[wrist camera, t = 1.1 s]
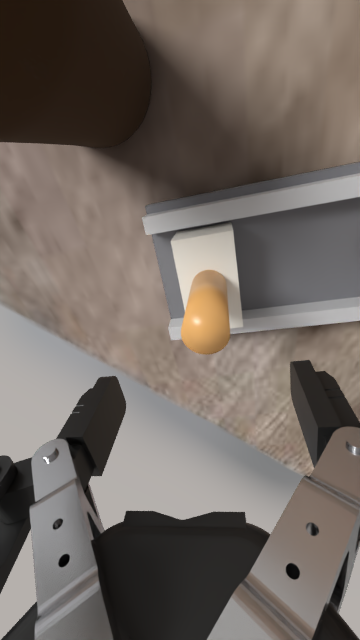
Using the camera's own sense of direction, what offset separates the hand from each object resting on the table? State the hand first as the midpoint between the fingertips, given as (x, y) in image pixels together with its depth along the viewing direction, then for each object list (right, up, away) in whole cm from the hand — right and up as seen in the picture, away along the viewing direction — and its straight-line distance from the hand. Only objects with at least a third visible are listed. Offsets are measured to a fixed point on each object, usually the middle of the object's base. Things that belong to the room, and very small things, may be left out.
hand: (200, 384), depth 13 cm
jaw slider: (+2, +8, +15) cm, 17 cm away
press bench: (+10, +9, +15) cm, 20 cm away
